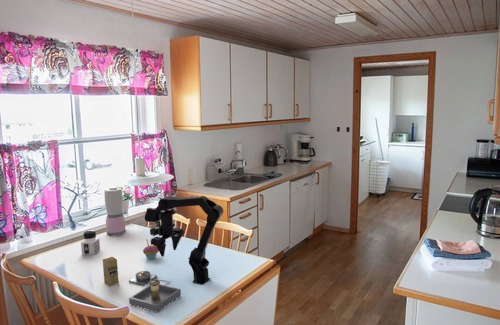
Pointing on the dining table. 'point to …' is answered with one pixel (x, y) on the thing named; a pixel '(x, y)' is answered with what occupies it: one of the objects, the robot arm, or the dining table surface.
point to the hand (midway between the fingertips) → (168, 253)
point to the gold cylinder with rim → (155, 289)
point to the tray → (166, 297)
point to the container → (90, 243)
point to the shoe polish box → (110, 271)
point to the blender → (114, 211)
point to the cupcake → (150, 251)
